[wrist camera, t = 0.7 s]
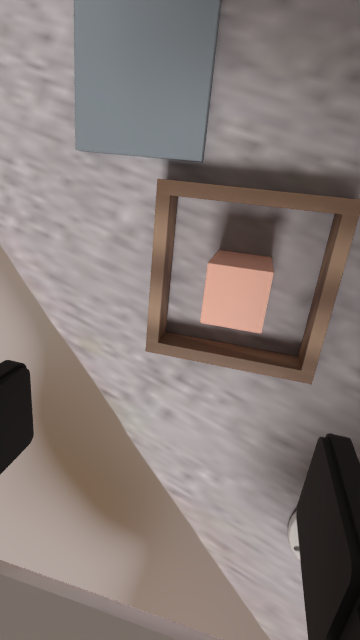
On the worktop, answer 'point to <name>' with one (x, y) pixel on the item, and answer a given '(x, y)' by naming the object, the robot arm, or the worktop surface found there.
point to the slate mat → (144, 76)
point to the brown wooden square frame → (238, 355)
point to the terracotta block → (237, 291)
